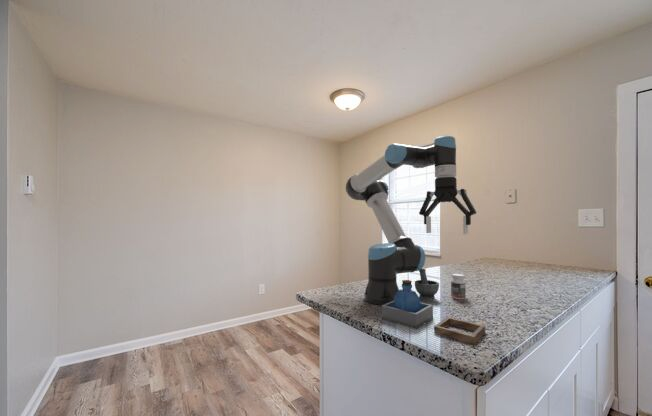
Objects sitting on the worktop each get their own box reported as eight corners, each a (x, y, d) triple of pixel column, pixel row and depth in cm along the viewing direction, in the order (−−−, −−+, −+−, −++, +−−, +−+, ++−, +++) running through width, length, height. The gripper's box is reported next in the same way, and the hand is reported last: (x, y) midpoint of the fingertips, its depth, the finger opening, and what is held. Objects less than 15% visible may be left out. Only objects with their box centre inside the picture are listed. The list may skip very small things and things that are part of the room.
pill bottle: (448, 296, 122) (447, 274, 122) (457, 295, 124) (457, 273, 124) (459, 300, 117) (458, 276, 117) (468, 298, 119) (468, 275, 119)
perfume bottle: (404, 320, 91) (403, 283, 92) (394, 314, 97) (394, 279, 97) (420, 318, 93) (419, 282, 93) (409, 312, 99) (409, 278, 99)
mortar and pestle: (442, 301, 114) (442, 272, 115) (420, 301, 114) (420, 272, 115) (431, 294, 126) (431, 267, 126) (411, 294, 125) (410, 267, 126)
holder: (434, 333, 83) (434, 326, 83) (447, 323, 91) (447, 316, 91) (474, 344, 75) (474, 337, 75) (485, 332, 83) (485, 325, 83)
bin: (381, 318, 95) (381, 305, 95) (399, 310, 104) (399, 298, 104) (416, 329, 86) (416, 314, 86) (433, 318, 95) (432, 305, 95)
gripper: (410, 179, 111) (410, 232, 110) (478, 172, 94) (480, 235, 93) (418, 181, 116) (419, 232, 115) (484, 175, 99) (486, 234, 98)
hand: (446, 233), depth 104 cm, fingers open, 13 cm apart
